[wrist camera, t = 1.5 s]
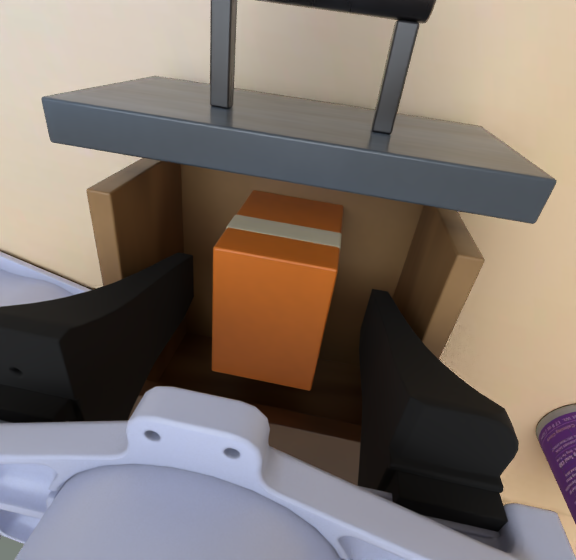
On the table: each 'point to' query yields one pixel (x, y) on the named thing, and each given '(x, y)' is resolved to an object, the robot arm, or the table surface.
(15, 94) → the table surface
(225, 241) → the snack box
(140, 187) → the drawer
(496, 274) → the table surface
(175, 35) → the table surface
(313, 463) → the cabinet
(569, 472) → the container
